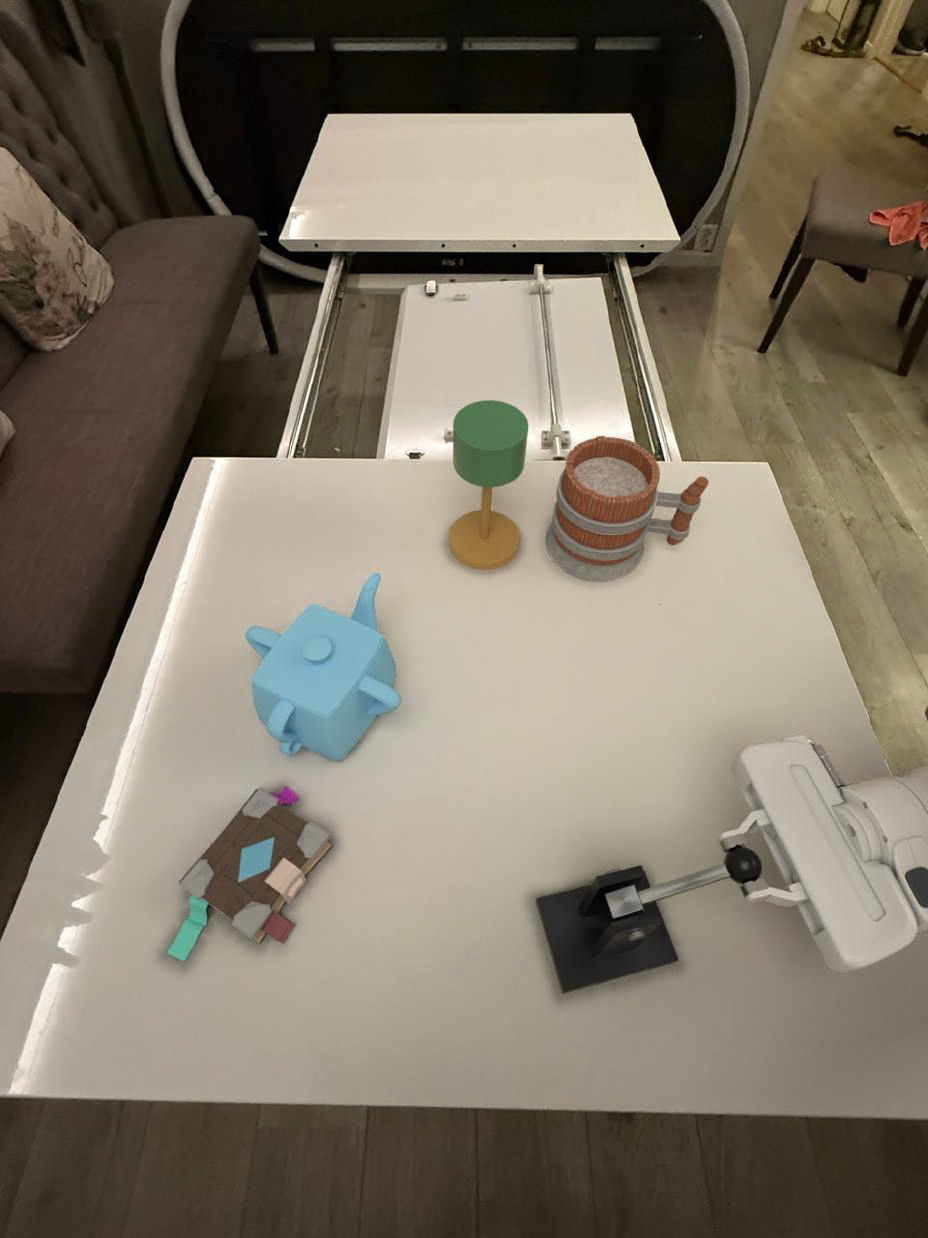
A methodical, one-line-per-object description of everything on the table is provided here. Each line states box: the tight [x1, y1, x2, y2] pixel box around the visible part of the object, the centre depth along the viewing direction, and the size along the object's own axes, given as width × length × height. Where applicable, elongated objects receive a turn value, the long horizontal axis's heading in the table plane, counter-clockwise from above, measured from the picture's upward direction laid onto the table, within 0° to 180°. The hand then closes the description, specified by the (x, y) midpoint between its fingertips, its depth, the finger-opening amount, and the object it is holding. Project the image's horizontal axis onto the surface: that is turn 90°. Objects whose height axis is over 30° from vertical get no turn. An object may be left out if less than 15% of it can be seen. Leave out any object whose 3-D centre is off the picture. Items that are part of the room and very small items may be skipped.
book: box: [166, 785, 334, 962], centre depth 75 cm, size 20×12×5 cm, turn 148°
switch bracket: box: [535, 864, 679, 995], centre depth 70 cm, size 12×9×13 cm
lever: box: [605, 846, 763, 921], centre depth 66 cm, size 14×3×3 cm, turn 104°
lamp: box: [448, 399, 529, 571], centre depth 96 cm, size 10×10×22 cm
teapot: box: [245, 572, 402, 763], centre depth 84 cm, size 18×16×14 cm
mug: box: [545, 435, 710, 582], centre depth 99 cm, size 14×19×15 cm
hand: (733, 868), depth 65 cm, fingers closed on lever, 3 cm apart
